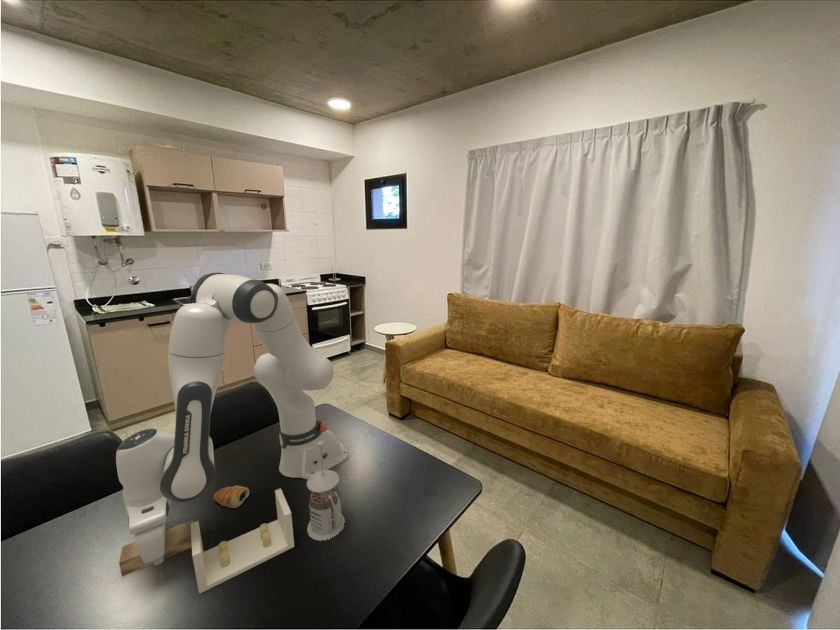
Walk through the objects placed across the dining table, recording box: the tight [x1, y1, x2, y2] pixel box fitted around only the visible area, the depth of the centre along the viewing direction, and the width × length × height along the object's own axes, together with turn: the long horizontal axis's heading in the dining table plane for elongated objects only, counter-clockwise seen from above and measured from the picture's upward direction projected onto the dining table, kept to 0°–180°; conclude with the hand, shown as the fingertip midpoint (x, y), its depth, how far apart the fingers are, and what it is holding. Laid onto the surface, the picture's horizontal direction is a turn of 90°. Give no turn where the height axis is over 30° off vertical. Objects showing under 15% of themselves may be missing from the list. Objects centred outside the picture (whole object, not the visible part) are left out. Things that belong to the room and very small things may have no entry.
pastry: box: [213, 484, 250, 509], centre depth 99 cm, size 9×7×4 cm
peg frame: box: [191, 487, 295, 595], centre depth 82 cm, size 20×10×10 cm, turn 125°
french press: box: [306, 441, 346, 542], centre depth 87 cm, size 10×12×25 cm
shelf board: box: [118, 519, 195, 577], centre depth 82 cm, size 14×5×4 cm, turn 124°
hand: (159, 546), depth 82 cm, fingers open, 8 cm apart
